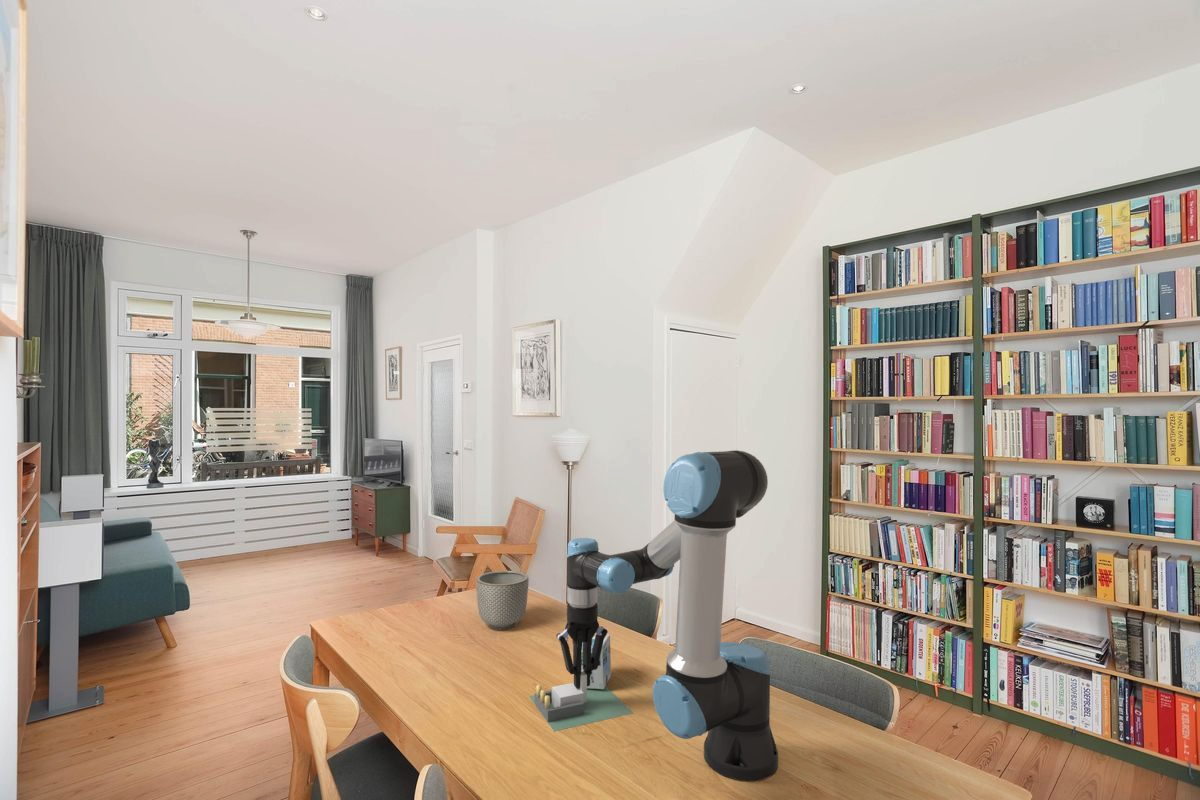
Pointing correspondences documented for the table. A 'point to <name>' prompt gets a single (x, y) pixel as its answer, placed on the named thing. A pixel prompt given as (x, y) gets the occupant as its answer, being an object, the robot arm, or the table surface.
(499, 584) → the planter
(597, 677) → the light bulb box
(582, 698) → the plug
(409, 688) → the table surface
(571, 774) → the table surface
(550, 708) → the header board
